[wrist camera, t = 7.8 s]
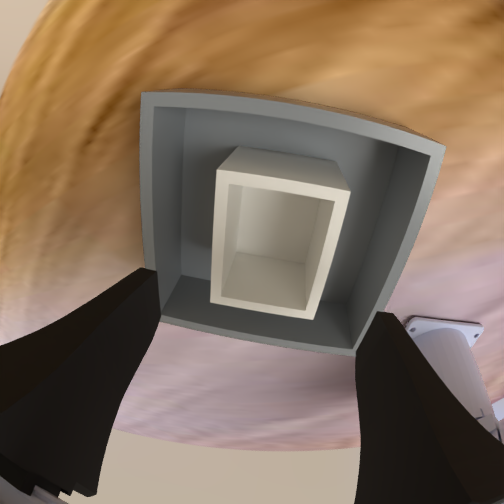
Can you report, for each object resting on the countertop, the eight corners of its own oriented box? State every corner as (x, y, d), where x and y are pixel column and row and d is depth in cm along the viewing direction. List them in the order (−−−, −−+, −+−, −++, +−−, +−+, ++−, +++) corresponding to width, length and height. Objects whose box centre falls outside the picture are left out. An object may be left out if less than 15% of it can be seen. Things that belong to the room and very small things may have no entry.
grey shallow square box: (350, 306, 20) (358, 357, 16) (176, 274, 20) (151, 319, 17) (409, 128, 13) (446, 146, 9) (181, 88, 14) (141, 92, 10)
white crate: (311, 267, 18) (313, 320, 14) (229, 253, 18) (210, 302, 14) (336, 161, 14) (350, 191, 10) (238, 145, 15) (216, 169, 11)
